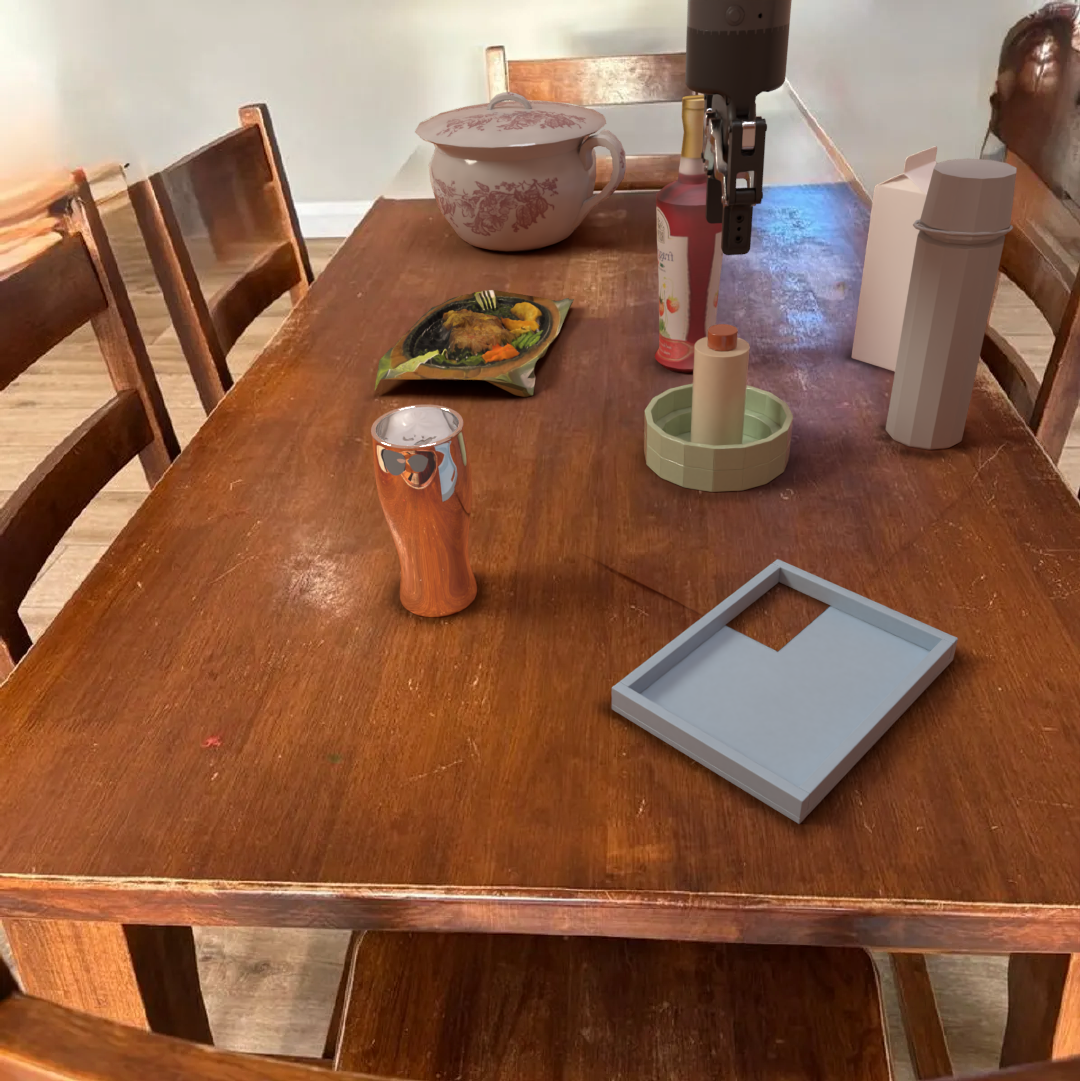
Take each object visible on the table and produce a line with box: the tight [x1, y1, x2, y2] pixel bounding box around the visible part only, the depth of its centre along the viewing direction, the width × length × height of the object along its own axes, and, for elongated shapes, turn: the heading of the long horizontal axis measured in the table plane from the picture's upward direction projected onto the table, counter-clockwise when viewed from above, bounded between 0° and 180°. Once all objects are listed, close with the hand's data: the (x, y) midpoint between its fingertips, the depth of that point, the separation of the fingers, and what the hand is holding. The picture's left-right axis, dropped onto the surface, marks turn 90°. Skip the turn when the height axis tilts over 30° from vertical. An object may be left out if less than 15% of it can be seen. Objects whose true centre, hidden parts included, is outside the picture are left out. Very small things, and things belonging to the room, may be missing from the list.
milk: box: [851, 145, 938, 373], centre depth 106 cm, size 6×6×22 cm
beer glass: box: [370, 404, 478, 618], centre depth 76 cm, size 7×7×15 cm
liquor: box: [654, 94, 724, 374], centre depth 105 cm, size 7×7×28 cm
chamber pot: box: [414, 91, 627, 253], centre depth 148 cm, size 28×28×21 cm
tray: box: [611, 558, 959, 825], centre depth 69 cm, size 20×15×2 cm
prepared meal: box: [373, 289, 575, 398], centre depth 119 cm, size 28×4×18 cm
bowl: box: [643, 382, 794, 493], centre depth 94 cm, size 13×13×5 cm
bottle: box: [690, 323, 751, 446], centre depth 91 cm, size 5×5×12 cm
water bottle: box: [885, 157, 1018, 451], centre depth 91 cm, size 9×8×25 cm
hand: (726, 237), depth 84 cm, fingers open, 8 cm apart
